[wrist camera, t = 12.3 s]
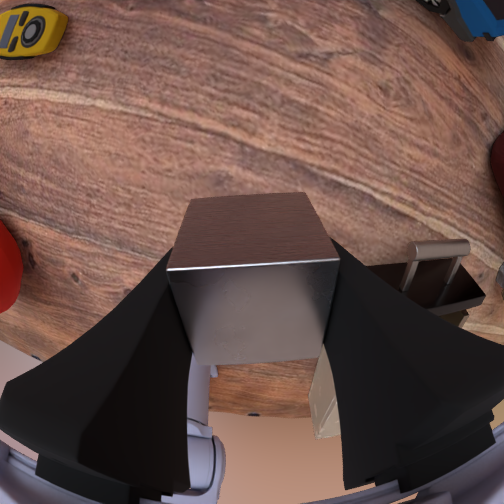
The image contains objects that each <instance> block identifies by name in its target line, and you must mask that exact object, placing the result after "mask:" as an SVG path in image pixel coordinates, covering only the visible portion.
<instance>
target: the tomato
mask: <svg viewBox="0 0 504 504" xmlns="http://www.w3.org/2000/svg"><path fill="white" fill-rule="evenodd" d="M23 268H24V267H23V263H22V258H21V253H20V249H19V247H18V245H17V243H16V241H15V239H14V238H13V236H12V235H11V234H10V232H9V231H8V230H7V228H6V227H5V226H4V224H3V223H2V221H1V220H0V313H2V312H4V311H6V310H8V309H9V308H10V307H11V306H12V305H13V304H14V303H15V301H16V299H17V297H18V295H19V292H20V286H21V278H22V273H23Z"/></svg>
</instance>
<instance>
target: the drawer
mask: <svg viewBox="0 0 504 504" xmlns="http://www.w3.org/2000/svg"><path fill="white" fill-rule="evenodd" d="M469 253H470V243H469V241H468V240H467V239H449V240H430V241H412V242H410V243H409V244H408V246H407V255H408V258H409V261H408V263H397V264H385V265H374V266H366V267H367V268H368V269H369V270H371V271H372V272H373V273H375V274H376V275H377V276H378V277H380V278H381V279H382V280H384V281H385V282H386V283H388V284H389V285H390V286H392V287H393V288H394V289H396V290H397V291H399V292H400V293H401V294H403V295H404V296H406V297H407V298H409V299H411V300H412V301H414V302H415V303H417V304H418V305H420V306H421V307H423V308H425V309H426V310H428V311H430V312H431V313H433V314H435V315H437V316H439V317H440V318H442V319H444V320H446V321H448V322H450V323H452V324H454V325H456V326H458V327H460V328H462V326H463V325H464V323H465V322H466V320H467V318H468V317H469V314H468V312H467V311H466V309H469V308H472V307H476V306H479V305H481V304H482V302H483V300H484V298H485V297H486V295H485V293H484V292H483V291H482V289H481V288H480V287H479V286H478V284H477V283H476V282H475V281H474V279H473V278H472V277H471V276H470V274H469V273H468V272H467V271H466V269H465V268H464V267H463V266H462V265H461V264H460V262H461V260H462V256H467V255H468V254H469ZM452 257H453V258H452ZM442 258H448V259H442ZM432 259H439V260H432ZM421 260H429V261H421Z"/></svg>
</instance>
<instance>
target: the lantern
mask: <svg viewBox="0 0 504 504" xmlns="http://www.w3.org/2000/svg"><path fill="white" fill-rule="evenodd" d="M496 281H497V283H498V284H499V285H500V286H501V287H502V288H503V289H502V292H501V293H502V297H503V300H504V263H503V264H502V266H501V267H500V269H499V272H498V275H497V279H496Z"/></svg>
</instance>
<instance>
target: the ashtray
mask: <svg viewBox="0 0 504 504" xmlns="http://www.w3.org/2000/svg"><path fill="white" fill-rule="evenodd" d="M490 157H491V166H492V170H493V173H494V176H495V179H496V181H497V184H498V187H499V189H500V191H501V193H502V196H503V199H504V132H503V133H502V134H501V135H499V137H498V138H497V140H496V141H495V142H494V144H493V146H492V149H491V156H490Z"/></svg>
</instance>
